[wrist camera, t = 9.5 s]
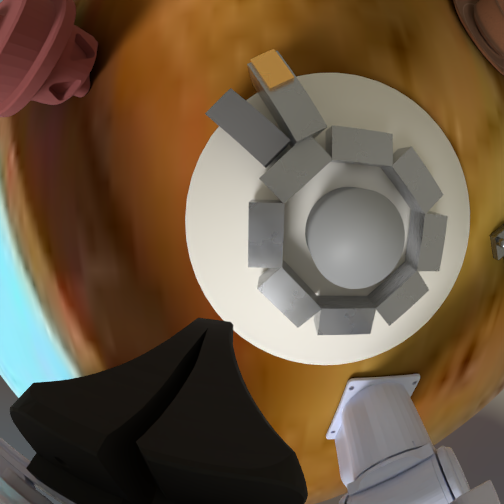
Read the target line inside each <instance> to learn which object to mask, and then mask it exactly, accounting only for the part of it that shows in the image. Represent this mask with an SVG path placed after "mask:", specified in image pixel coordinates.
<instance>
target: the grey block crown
mask: <svg viewBox="0 0 504 504" xmlns="http://www.w3.org/2000/svg"><path fill="white" fill-rule="evenodd" d="M250 62H251V63H249V64H247V65H248V69H249V73H250V77H251V81H252V85H253V87H254V88H255V90H256V91H257V93H258V94H259V96H260V97H261V99H262V101H263V102H264V104H265V105H266V107H267V108H268V110H269V112H270V113H271V115H272V116H273V118H274V120H275V121H276V123H277V125H278V126H279V128H280V130H281V131H282V133H284V134H285V135H286V136H287V137H288V138H289V139H290V142H289V145H290V147H291V149H290V150H289V151H288V152H287V153H286V154H285V155H283V156H282V157H281V158H280V159H279V160H278V161H277V162H276V163H275V164H274V165H273V166H272V167H271V168H269V169H268V170H267V171H266V172H265V173H264V174H263V175H262V176H261V177H260V178H259V179H260V180H261V181H262V182H263V183H264V184H265V185H266V186H267V187H268V188H269V189H270V190H271V191H272V192H273V193H274V194H275V195H276V196H277V197H278V198H279V199H280V200H253V199H251V200H250V201H249V219H248V267H257V268H269V269H267V270H266V271H265V272H264V273H263V274H262V275H261V276H260V277H259V280H258V286H257V289H258V290H259V291H260V292H261V293H262V294H263V295H264V296H265V297H266V298H267V299H268V300H269V301H270V302H271V303H272V304H273V305H274V306H276V307H277V308H278V309H279V310H280V311H281V312H282V313H283V314H284V315H285V316H286V317H287V318H288V319H289V320H290V321H291V322H292V323H293V324H294V325H295V326H296V327H297V328H298V327H300V326H301V325H302V324H304V323H305V322H306V321H308V320H309V319H310V318H311V317H313V316H314V323H315V327H316V332H317V335H357V334H371V329H372V325H373V321H374V316H375V312H376V310H377V311H378V312H379V314H380V315H381V316H382V318H383V319H384V320H385V321H386V323H387V324H388V325H389V326H390V325H391V324H392V323H394V322H395V321H396V320H397V319H398V318H399V317H401V316H402V315H403V314H404V313H405V312H406V311H407V310H408V309H410V308H411V307H412V306H413V305H414V304H415V303H416V302H417V301H418V300H419V299H420V298H421V297H422V296H424V295H425V294H426V293H427V292H428V291H429V289H428V287H427V285H426V284H425V282H424V280H423V279H422V277H421V275H420V274H419V272H418V271H439V270H440V265H441V260H442V254H443V248H444V242H445V235H446V228H447V219H448V216H446V215H443V214H439V213H436V212H431V211H429V210H430V209H431V208H432V207H433V206H434V204H435V203H436V202H437V201H438V200H439V199H440V198H441V197H442V196H443V193H442V191H441V190H440V188H439V186H438V185H437V183H436V181H435V180H434V178H433V177H432V175H431V174H430V172H429V171H428V169H427V168H426V166H425V165H424V163H423V162H422V160H421V159H420V157H419V156H418V154H417V153H416V152H415V150H414V149H413V148H412V146H411V147H405V148H400V149H398V150H396V151H395V152H394V153H393V134H390V133H385V132H379V131H372V130H366V129H358V128H351V127H342V126H331V127H330V128H329V129H327V130H326V151H325V150H324V149H323V148H322V147H321V146H320V145H319V144H318V142H317V141H316V140H315V139H314V138H315V137H317V136H318V135H319V134H320V133H321V132H322V131H323V130H325V129H326V128H327V125H326V123H325V121H324V120H323V118H322V116H321V115H320V113H319V111H318V110H317V108H316V106H315V105H314V103H313V102H312V100H311V98H310V97H309V95H308V94H307V92H306V91H305V89H304V88H303V86H302V85H301V83H300V82H299V80H298V79H297V77H296V76H295V74H294V73H293V71H292V70H291V69H290V67H289V66H288V64H287V63H286V62H285V60H284V59H283V57H282V56H281V55H280V53H279V52H278V51H275V49H272V50H270V51H268V52H265V53H263V54H261V55H259V56H256V57H254V58H252V59H250ZM329 162H337V163H348V164H358V165H367V166H375V167H380V168H381V169H382V170H383V172H384V173H385V174H386V175H387V177H388V178H389V179H390V181H391V182H392V183H393V185H394V186H395V188H396V189H397V190H398V192H399V193H400V194H401V196H402V197H403V199H404V200H405V202H406V203H407V205H408V206H409V207H410V209H411V215H410V225H409V234H408V242H407V249H406V256H405V262H404V263H403V264H401V265H400V266H399V267H398V268H397V269H396V270H395V271H394V272H393V273H392V274H391V275H390V276H389V277H388V278H386V279H385V280H384V281H383V282H382V283H381V284H380V285H379V286H378V287H376V288H375V289H374V290H373V291H372V292H371V293H370V294H368V295H367V296H317V295H316V294H315V293H314V292H313V291H312V289H311V288H310V287H309V286H308V285H307V284H306V283H305V282H304V281H303V280H302V279H301V278H300V277H299V276H298V275H297V274H296V273H295V272H294V271H293V270H292V269H291V267H290V266H289V265H288V264H287V263H286V262H285V261H284V260H283V237H284V208H285V203H286V202H287V201H288V200H289V199H290V198H291V197H293V196H294V195H295V194H296V193H297V192H298V191H299V190H300V189H301V188H302V187H303V186H304V185H305V184H307V183H308V182H309V181H310V180H311V179H312V178H313V177H314V176H315V175H316V174H317V173H319V172H320V171H321V170H322V169H323V168H324V167H325V166H326V165H327V164H328V163H329Z"/></svg>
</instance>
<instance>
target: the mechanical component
mask: <svg viewBox="0 0 504 504" xmlns="http://www.w3.org/2000/svg"><path fill="white" fill-rule="evenodd" d="M75 16H76V7H75V3H74V2H73V0H3V1H2V2H1V3H0V117H9V116H11V115H14V114H15V113H17V112H18V111H20V110H21V109H22V108H23V107H24V106H25V105H26V104H27V103H28V102H29V101H30V100H34V101H37V102H40V103H44V104H49V105H57V104H60V103H62V102H64V101H66V100H67V99H69V98H70V97H71V96H72V95H74V96H77V97H83V96H84V95H86V94H87V92H88V91H89V89H90V78H89V74H90V72H91V70H92V67H93V65H94V62H95V59H96V55H97V47H98V42H97V41H96V40H95V38H94V37H93V36H92V35H91V34H88V33H87V32H85V31H84V30H82V29H81V28H79V27H77V26H76V25H74V22H75Z"/></svg>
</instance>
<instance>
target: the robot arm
mask: <svg viewBox="0 0 504 504" xmlns="http://www.w3.org/2000/svg"><path fill="white" fill-rule="evenodd" d="M419 380H420V375H419V374H409V375H398V376H386V377H369V378H352V379H350V380H349V381H348V382H347V385H346V388H345V390H344V393H343V396H342V398H341V401H340V403H339V406H338V408H337V411H336V413H335V415H334V418H333V420H332V423H331V425H330V427H329V429H328V432H327V434H326V438H327V439H335V444H336V450H337V456H338V462H339V469H340V476H341V479H342V482H343V483H344V485H345V486H346V487H347V489H348V494H346V495H344V496H343V497H342V498H341V499H340V501H339V503H338V504H500V501H499V499H498V496H497V494H496V491H495V489H494V487H493V484H492V482H491V480H488V481H486V482H485V483H483V484H481V485H479V486H477V487H475V488H473V489H472V490H470V488H469V485H468V483H467V480H466V478H465V475H464V473H463V471H462V469H461V467H460V464H459V462H458V460H457V458H456V456H455V454H454V452H453V450H452V449H451V447H444V446H441V447H440V448H438V449H437V450H436V449H435V448H434V446H433V445H432V442H431V440H430V438H429V436H428V433H427V431H426V429H425V427H424V425H423V423H422V420H421V418H420V416H419V414H418V412H417V410H416V408H415V406H414V404H413V402H412V400H411V398H410V397H411V395H412V393H413V392H414V390H415V388H416V386H417V384H418V382H419ZM351 386H353V387H351ZM10 414H11V417H12V420H13V422H14V423H15V425H16V426H17V428H18V429H19V431H20V432H21V434H22V435H23V436H24V438H25V439H26V440H27V441H28V443H29V444H30V445H31V446H32V448H33V449H34V450H35V451H36V455H35V456H34V458H33V459H32V461H29V460H28V459H27V458H25V457H24V456H22V455H21V454H20V453H19V452H17V451H16V450H15V449H14V448H12V447H11V446H10V445H9V444H8V443H6V442H5V441H4V440H3V439H2V438H0V504H53V503H52V502H51V501H50V500H49V499H48V498H46V497H45V496H43V495H42V494H41V493H39V492H38V491H37V490H36V488H35V486H37V487H38V488H39V489H41V490H42V491H44V492H45V493H47V494H48V495H50V496H51V497H53V498H54V499H56V500H57V501H59V502H61V503H62V504H304V503H305V502H306V499H307V496H308V493H307V486H306V481H305V478H304V474H303V472H302V469H301V466H300V464H299V461H298V459H297V456H296V454H295V452H294V451H293V450H292V449H291V448H290V447H289V446H288V445H287V444H286V443H285V442H284V441H283V440H282V438H281V437H280V436H279V435H278V434H277V433H276V432H275V430H274V429H273V428H272V427H271V425H270V424H269V423H268V421H267V420H266V419H265V417H264V416H263V414H262V413H261V411H260V410H259V408H258V407H257V405H256V403H255V402H254V400H253V398H252V397H251V395H250V393H249V391H248V389H247V387H246V385H245V383H244V380H243V378H242V375H241V373H240V370H239V367H238V364H237V361H236V357H235V353H234V349H233V324H232V323H231V322H228V321H219V320H211V319H203V318H197V319H196V320H195V321H193V322H192V323H191V324H189V325H188V326H186V327H185V328H184V329H182V330H181V331H180V332H178V333H177V334H175V335H174V336H173V337H171V338H170V339H168V340H167V341H165V342H164V343H162V344H160V345H159V346H157V347H155V348H154V349H152V350H150V351H149V352H147V353H145V354H143V355H141V356H139V357H137V358H135V359H133V360H131V361H129V362H127V363H124V364H122V365H119V366H117V367H114V368H111V369H108V370H105V371H102V372H99V373H96V374H92V375H88V376H84V377H79V378H74V379H69V380H62V381H52V382H40V383H33V384H32V385H31V386H30V387H29V388H28V389H27V390H26V391H25V392H24V393H23V394H22V395H21V397H20V398H19V399H18V400H17V401H16V402H15V403H14V404H13V405H12V406H11V407H10ZM34 485H35V486H34Z"/></svg>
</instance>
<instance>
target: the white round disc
mask: <svg viewBox="0 0 504 504" xmlns="http://www.w3.org/2000/svg"><path fill="white" fill-rule="evenodd" d="M296 77H297V79H298V80H299V82H300V83H301V85H302V86H303V88H304V89H305V91H306V92H307V94H308V95H309V97H310V98H311V100H312V102H313V103H314V105H315V106H316V108H317V110H318V111H319V113H320V115H321V116H322V118H323V120H324V121H325V123H326V125H327V128H326V129H325V130H323V131H322V132H321V133H320V134H319V135H318V136H317V137H315V138H314V139H315V140H316V141H317V142H318V144H319V145H320V146H321V147H322V148H323V149H324V150H325V151H326V130H327V129H329V128H330V127H331V126H342V127H351V128H358V129H366V130H372V131H379V132H385V133H390V134H393V153H394V152H395V151H396V150H398V149H400V148H405V147H411V146H412V148H413V149H414V150H415V152H416V153H417V154H418V156H419V157H420V159H421V160H422V162H423V163H424V165H425V166H426V168H427V169H428V171H429V172H430V174H431V175H432V177H433V178H434V180H435V181H436V183H437V185H438V186H439V188H440V190H441V191H442V193H443V196H442V197H441V198H440V199H439V200H438V201H437V202H436V203H435V204H434V206H433V207H432V208H431V209H430V210H429V211H431V212H436V213H439V214H443V215H446V216H448V219H447V228H446V235H445V242H444V248H443V254H442V260H441V265H440V270H439V271H418V272H419V274H420V275H421V277H422V279H423V280H424V282H425V284H426V285H427V287H428V289H429V291H428V292H427V293H426V294H425V295H424V296H422V297H421V298H420V299H419V300H418V301H417V302H416V303H415V304H414V305H413V306H412V307H411V308H410V309H408V310H407V311H406V312H405V313H404V314H403V315H402V316H401V317H399V318H398V319H397V320H396V321H395V322H394V323H392V324H391V325H390V326H389V325H388V324H387V323H386V321H385V320H384V319H383V318H382V316H381V315H380V314H379V312H378V311H377V310H376V312H375V316H374V321H373V325H372V329H371V334H357V335H317V332H316V327H315V323H314V316H313V317H311V318H310V319H309V320H308V321H306V322H305V323H304V324H302V325H301V326H300V327H298V328H297V327H296V326H295V325H294V324H293V323H292V322H291V321H290V320H289V319H288V318H287V317H286V316H285V315H284V314H283V313H282V312H281V311H280V310H279V309H278V308H277V307H276V306H274V305H273V304H272V303H271V302H270V301H269V300H268V299H267V298H266V297H265V296H264V295H263V294H262V293H261V292H260V291H259V290H258V289H257V286H258V280H259V277H260V276H261V275H262V274H263V273H264V272H265V271H266V270H267V269H269V268H257V267H248V219H249V201H250V200H251V199H253V200H280V199H279V198H278V197H277V196H276V195H275V194H274V193H273V192H272V191H271V190H270V189H269V188H268V187H267V186H266V185H265V184H264V183H263V182H262V181H261V180H260V179H259V178H260V177H261V176H262V175H263V174H264V173H265V172H266V171H267V170H268V169H269V168H271V167H272V166H273V165H274V164H275V163H276V162H277V161H278V160H279V159H280V158H281V157H282V156H283V155H285V154H286V153H287V152H288V151H289V150H290V149H291V147H290V145H289V142H290V139H289V138H288V137H287V136H286V135H285V134H284V133H282V131H281V130H280V128H279V126H278V125H277V123H276V121H275V120H274V118H273V116H272V115H271V113H270V112H269V110H268V108H267V107H266V105H265V104H264V102H263V101H262V99H261V97H260V96H259V94H258V93H256V94H255V95H253V96H252V97H250V98H249V99H247V100H245V99H243V98H242V97H241V96H240V95H238V94H237V93H236V92H235V91H233V90H232V89H231V88H230V89H229V90H228V91H227V92H226V93H225V94H224V95H223V96H222V97H221V98H220V99H219V100H218V101H217V102H216V103H215V104H214V105H213V106H212V107H211V108H210V109H209V110H208V111H207V112H206V113H205V114H206V115H207V116H208V117H209V118H211V119H212V120H213V121H214V122H215V123H216V124H217V125H219V127H218V128H217V130H216V131H215V132H214V134H213V135H212V136H211V138H210V139H209V141H208V143H207V145H206V146H205V148H204V150H203V152H202V153H201V155H200V157H199V160H198V162H197V165H196V168H195V170H194V173H193V175H192V179H191V183H190V187H189V192H188V196H187V205H186V216H185V222H186V240H187V245H188V251H189V256H190V260H191V263H192V266H193V269H194V272H195V275H196V278H197V280H198V282H199V284H200V286H201V288H202V290H203V292H204V294H205V296H206V298H207V299H208V301H209V302H210V304H211V305H212V307H213V308H214V310H215V311H216V312H217V313H218V314H219V316H220V317H221V318H222V319H223V320H224V321H228V322H231V323H232V324H233V330H234V331H235V332H236V333H238V334H239V335H240V336H241V337H242V338H244V339H245V340H247V341H248V342H250V343H251V344H253V345H254V346H256V347H258V348H260V349H262V350H264V351H266V352H268V353H270V354H272V355H275V356H278V357H281V358H284V359H287V360H290V361H295V362H300V363H305V364H315V365H337V364H345V363H351V362H356V361H360V360H364V359H367V358H371V357H373V356H376V355H378V354H381V353H383V352H385V351H388V350H389V349H391V348H393V347H395V346H397V345H398V344H400V343H402V342H403V341H405V340H406V339H407V338H409V337H410V336H412V335H413V334H414V333H416V332H417V331H418V330H419V329H420V328H421V327H422V326H423V325H424V324H425V323H427V322H428V320H429V319H430V318H431V317H432V316H433V315H434V314H435V312H436V311H437V310H438V309H439V308H440V306H441V305H442V303H443V302H444V300H445V299H446V297H447V296H448V294H449V293H450V291H451V289H452V287H453V285H454V283H455V281H456V279H457V277H458V274H459V272H460V269H461V267H462V264H463V260H464V257H465V253H466V249H467V244H468V237H469V230H470V206H469V196H468V190H467V186H466V181H465V177H464V174H463V171H462V168H461V165H460V162H459V160H458V157H457V155H456V153H455V151H454V149H453V147H452V146H451V144H450V142H449V140H448V139H447V137H446V136H445V134H444V133H443V131H442V130H441V129H440V127H439V126H438V125H437V124H436V122H435V121H434V120H433V119H432V118H431V117H430V116H429V115H428V114H427V112H425V111H424V110H423V109H422V108H421V107H420V106H419V105H417V104H416V103H415V102H414V101H413V100H411V99H410V98H408V97H407V96H405V95H404V94H402V93H400V92H399V91H397V90H396V89H394V88H391V87H389V86H387V85H385V84H383V83H380V82H378V81H375V80H372V79H369V78H365V77H362V76H358V75H351V74H344V73H314V74H308V75H302V76H296ZM410 215H411V209H410V207H409V206H408V205H407V203H406V202H405V200H404V199H403V197H402V196H401V194H400V193H399V192H398V190H397V189H396V188H395V186H394V185H393V183H392V182H391V181H390V179H389V178H388V177H387V175H386V174H385V173H384V172H383V170H382V169H381V168H380V167H375V166H367V165H358V164H348V163H337V162H329V163H328V164H327V165H326V166H325V167H324V168H323V169H322V170H321V171H320V172H319V173H317V174H316V175H315V176H314V177H313V178H312V179H311V180H310V181H309V182H308V183H307V184H305V185H304V186H303V187H302V188H301V189H300V190H299V191H298V192H297V193H296V194H295V195H294V196H293V197H291V198H290V199H289V200H288V201H287V202H286V203H285V208H284V237H283V260H284V261H285V262H286V263H287V264H288V265H289V266H290V267H291V269H292V270H293V271H294V272H295V273H296V274H297V275H298V276H299V277H300V278H301V279H302V280H303V281H304V282H305V283H306V284H307V285H308V286H309V287H310V288H311V289H312V291H313V292H314V293H315V294H316V295H317V296H367V295H368V294H370V293H371V292H372V291H373V290H374V289H375V288H376V287H378V286H379V285H380V284H381V283H382V282H383V281H384V280H385V279H386V278H388V277H389V276H390V275H391V274H392V273H393V272H394V271H395V270H396V269H397V268H398V267H399V266H400V265H401V264H403V263H404V262H405V256H406V249H407V242H408V234H409V225H410Z"/></svg>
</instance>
